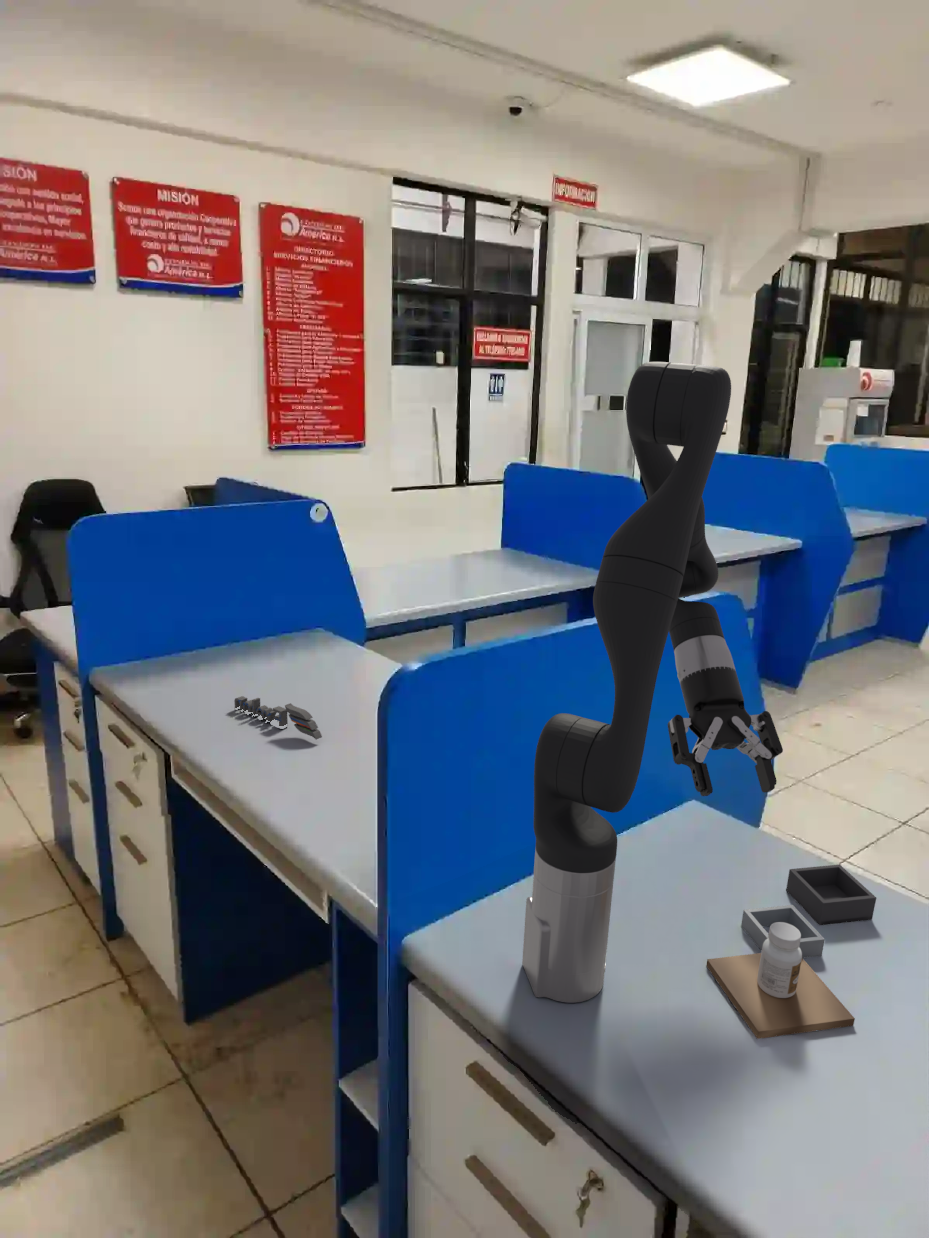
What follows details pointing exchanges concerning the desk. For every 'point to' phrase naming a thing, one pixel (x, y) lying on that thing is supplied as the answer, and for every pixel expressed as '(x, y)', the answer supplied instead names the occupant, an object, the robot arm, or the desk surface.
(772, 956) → the pill bottle
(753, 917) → the sleeve
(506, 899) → the desk surface
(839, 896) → the box
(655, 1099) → the desk surface
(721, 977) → the walnut pad
